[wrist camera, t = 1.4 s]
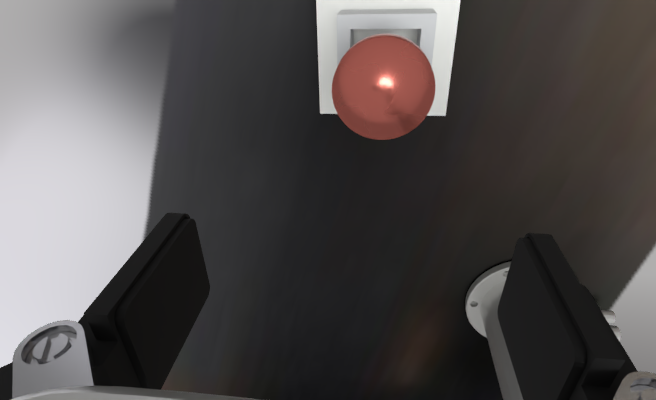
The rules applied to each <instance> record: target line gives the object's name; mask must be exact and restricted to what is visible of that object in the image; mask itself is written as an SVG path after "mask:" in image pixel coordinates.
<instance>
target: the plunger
mask: <svg viewBox="0 0 656 400" xmlns="http://www.w3.org/2000/svg"><path fill="white" fill-rule="evenodd" d="M434 96H435V77H434V73H433V70H432V67H431V65H430V62H429V60H428V58H427V56H426V55H425V53H424V52H423V51H422V49H421V48H420V47H419V46H417V45H416V44H415V43H414V42H412V41H411V40H409V39H407V38H405V37H402V36H400V35H395V34H387V33H384V34H376V35H371V36H369V37H366V38H364V39H362V40H360V41H358V42H357V43H355V44H354V45H353V46H352V47H351V48H349V49H348V51H347V52H346V53H345V54H344V56H343V57H342V59H341V60H340V62H339V64H338V67H337V69H336V71H335V74H334V77H333V82H332V99H333V104H334V107H335V109H336V111H337V113H338V115H339V117H340V118H341V120H342V121H343V122H344V123H345V125H346V126H347V127H349V128H350V129H351V130H352V131H354V132H355V133H357V134H359V135H361V136H364V137H367V138H370V139H377V140H388V139H394V138H397V137H400V136H403V135H405V134H407V133H409V132H410V131H412V130H413V129H415V128H416V127H417V126H418V125H419V124H420V123H421V122H422V121H423V120H424V119H425V117H426V116H427V114H428V113H429V111H430V109H431V106H432V104H433V101H434Z"/></svg>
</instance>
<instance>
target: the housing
mask: <svg viewBox="0 0 656 400" xmlns="http://www.w3.org/2000/svg"><path fill="white" fill-rule="evenodd" d="M316 8H317V38H318V67H319V96H320V114H338V113H337V111H336V109H335V107H334V104H333V99H332V82H333V77H334V74H335V71H336V69H337V67H338V64H339V62H340V60H341V59H342V57H343V56H344V54H345V53H346V52H347V51H348V49H349V48H351V47H352V46H353V45H354V44H355V43H357V42H358V41H360V40H362V39H364V38H366V37H369V36H371V35H376V34H384V33H387V34H395V35H400V36H402V37H405V38H407V39H409V40H411V41H412V42H414V43H415V44H416V45H417V46H419V47H420V48H421V49H422V51H423V52H424V53H425V55H426V56H427V58H428V60H429V62H430V65H431V67H432V70H433V73H434V77H435V96H434V101H433V104H432V106H431V109H430V111H429V113H428V114H427V116H446V108H447V100H448V93H449V85H450V77H451V70H452V62H453V54H454V46H455V39H456V31H457V23H458V16H459V8H460V0H316Z"/></svg>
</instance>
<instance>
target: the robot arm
mask: <svg viewBox="0 0 656 400" xmlns="http://www.w3.org/2000/svg"><path fill="white" fill-rule="evenodd" d="M209 290H210V285H209V280H208V275H207V271H206V267H205V262H204V258H203V253H202V249H201V245H200V240H199V236H198V231H197V227H196V223H195V221H194V219H190V217H189V215H188V214H182V213H167V214H166V215H165V216H164V217H163V218H162V219H161V221H160V222H159V223H158V224H157V225H156V227H155V228H154V229H153V230H152V231H151V233H150V234H149V235H148V236H147V237H146V239H145V240H144V241H143V242H142V244H141V245H140V246H139V247H138V248H137V250H136V251H135V252H134V253H133V254H132V256H131V257H130V258H129V259H128V261H127V262H126V263H125V264H124V265H123V267H122V268H121V269H120V270H119V271H118V273H117V274H116V275H115V276H114V277H113V279H112V280H111V281H110V282H109V284H108V285H107V286H106V287H105V288H104V290H103V291H102V292H101V293H100V295H99V296H98V297H97V298H96V299H95V300H94V302H93V303H92V304H91V305H90V306H89V308H88V309H87V310H86V311H85V312H84V315H83V317H82V318H81V319H80V320H79V322H78V323H77V322H76V321H70V320H64V321H57V322H53V323H50V324H47V325H45V326H43V327H41V328H39V329H37V330H35V331H34V332H33V333H31V334H30V335H28V336H27V337H26V338H25V339H24V340H23V341H22V342H21V343H20V344H19V345H18V347H17V349H16V350H15V352H14V356H13V362H12V363H10V364H8V365H6V366H3V367H1V368H0V400H262V399H252V398H242V397H232V396H222V395H212V394H202V393H192V392H182V391H171V390H161V388H162V386H163V384H164V382H165V380H166V378H167V376H168V374H169V372H170V370H171V368H172V366H173V364H174V362H175V360H176V358H177V356H178V354H179V352H180V350H181V349H182V347H183V345H184V343H185V341H186V339H187V337H188V335H189V333H190V331H191V329H192V327H193V325H194V323H195V321H196V319H197V317H198V315H199V313H200V311H201V309H202V307H203V305H204V303H205V301H206V299H207V297H208V295H209ZM465 309H466V314H467V317H468V320H469V322H470V324H471V325H472V326H473V328H474V329H475V330H476V331H477V332H479V333H480V334H481V335H483V336H484V337H486V338H487V339H488V343H489V347H490V351H491V355H492V359H493V362H494V366H495V370H496V374H497V378H498V382H499V385H500V389H501V393H502V397H503V400H656V374H654V373H650V372H638V371H637V370H636V368H635V366H634V365H633V363H632V362H631V360H630V358H629V357H628V355H627V354H626V352H625V350H624V348H623V347H622V345H621V343H620V341H621V332H620V330H619V328H618V327H617V326H613V325H609V324H614V323H615V320H616V317H615V314H614V312H613V311H607V310H600V308H599V307H598V305H597V303H596V302H595V300H594V298H593V297H592V295H591V293H590V292H589V290H588V289H587V288H586V287H585V286H583V285H582V284H580V282H579V281H578V279H577V277H576V276H575V274H574V272H573V271H572V269H571V267H570V266H569V264H568V262H567V261H566V259H565V257H564V255H563V254H562V252H561V250H560V249H559V247H558V245H557V244H556V242H555V240H554V239H553V237H552V236H551V235H549V234H534V233H528V234H526V235H525V237H524V238H519V239H518V241H517V244H516V247H515V251H514V254H513V257H512V261H511V262H506V263H503V264H500V265H498V266H495V267H493V268H491V269H490V270H488V271H486V272H485V273H483V274H482V275H481V276H479V277H478V278H477V279H476V280H475V281H474V283H473V284H472V285H471V287H470V288H469V290H468V292H467V295H466V299H465Z"/></svg>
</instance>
